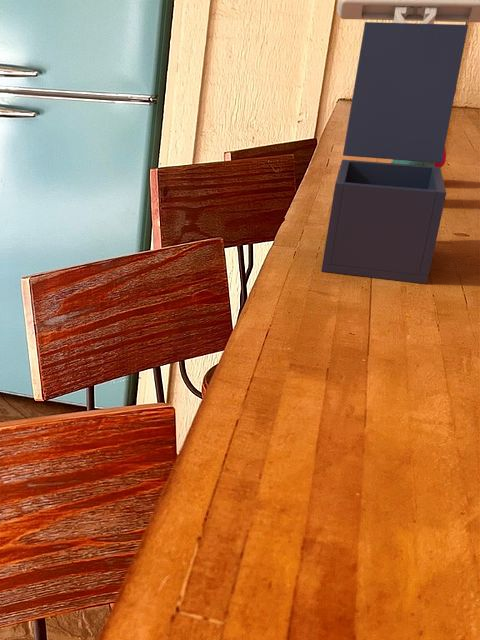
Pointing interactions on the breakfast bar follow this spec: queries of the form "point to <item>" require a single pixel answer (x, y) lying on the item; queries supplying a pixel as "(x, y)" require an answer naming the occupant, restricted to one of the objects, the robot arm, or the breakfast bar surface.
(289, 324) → the breakfast bar surface
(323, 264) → the chest
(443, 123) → the chest lid
